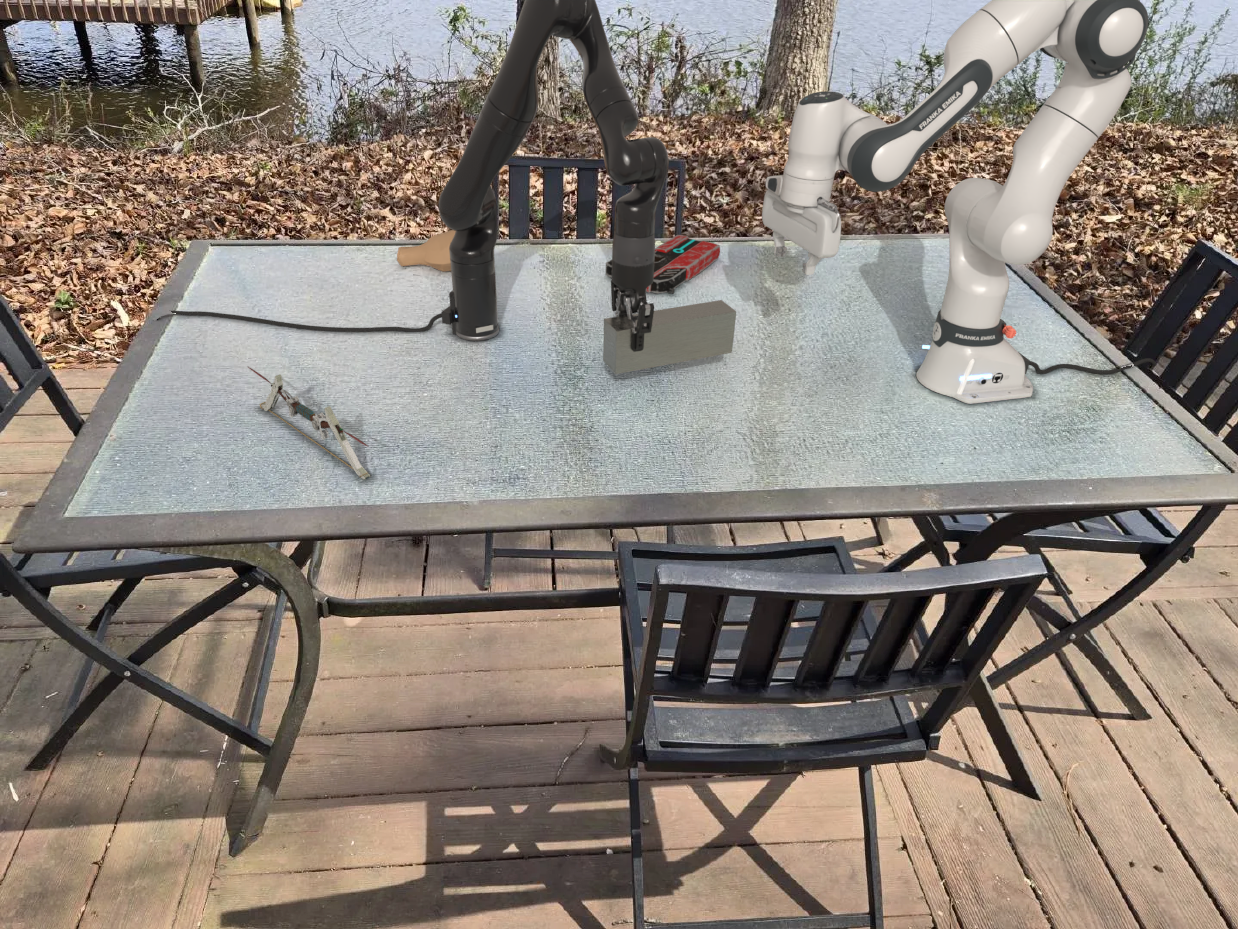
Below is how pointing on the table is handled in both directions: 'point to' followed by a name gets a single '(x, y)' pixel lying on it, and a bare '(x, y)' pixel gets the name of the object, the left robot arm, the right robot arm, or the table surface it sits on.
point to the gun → (678, 262)
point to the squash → (429, 252)
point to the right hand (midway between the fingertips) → (793, 264)
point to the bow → (314, 422)
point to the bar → (671, 337)
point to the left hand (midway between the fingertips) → (630, 342)
